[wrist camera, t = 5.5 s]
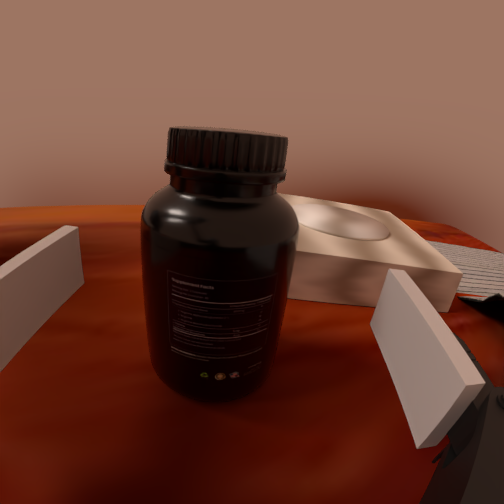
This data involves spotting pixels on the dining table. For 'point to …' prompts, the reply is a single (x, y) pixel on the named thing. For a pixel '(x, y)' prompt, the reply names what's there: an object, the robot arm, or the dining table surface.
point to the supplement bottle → (217, 261)
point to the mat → (476, 271)
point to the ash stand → (362, 255)
